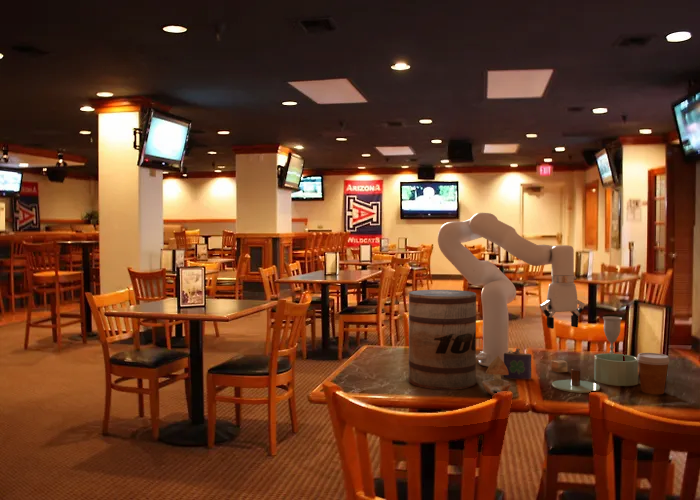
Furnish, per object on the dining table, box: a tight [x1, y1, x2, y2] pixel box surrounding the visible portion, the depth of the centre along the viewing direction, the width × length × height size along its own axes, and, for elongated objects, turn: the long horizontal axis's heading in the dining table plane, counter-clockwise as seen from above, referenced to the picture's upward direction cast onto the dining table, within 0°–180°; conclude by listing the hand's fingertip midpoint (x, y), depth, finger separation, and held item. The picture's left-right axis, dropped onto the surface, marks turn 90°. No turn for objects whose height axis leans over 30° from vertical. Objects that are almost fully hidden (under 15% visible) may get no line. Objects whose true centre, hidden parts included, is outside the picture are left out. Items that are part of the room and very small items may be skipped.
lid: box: [551, 368, 601, 394], centre depth 206 cm, size 15×15×6 cm
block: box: [551, 359, 569, 373], centre depth 229 cm, size 4×4×4 cm
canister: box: [593, 352, 640, 387], centre depth 214 cm, size 14×14×8 cm
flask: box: [503, 348, 532, 380], centre depth 218 cm, size 9×3×11 cm, turn 74°
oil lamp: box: [482, 356, 512, 397], centre depth 199 cm, size 9×21×10 cm, turn 165°
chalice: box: [602, 315, 623, 354], centre depth 241 cm, size 7×7×18 cm
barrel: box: [408, 289, 477, 390], centre depth 215 cm, size 22×22×30 cm
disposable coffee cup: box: [636, 352, 671, 395], centre depth 200 cm, size 10×10×12 cm
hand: (562, 327), depth 228 cm, fingers open, 9 cm apart
